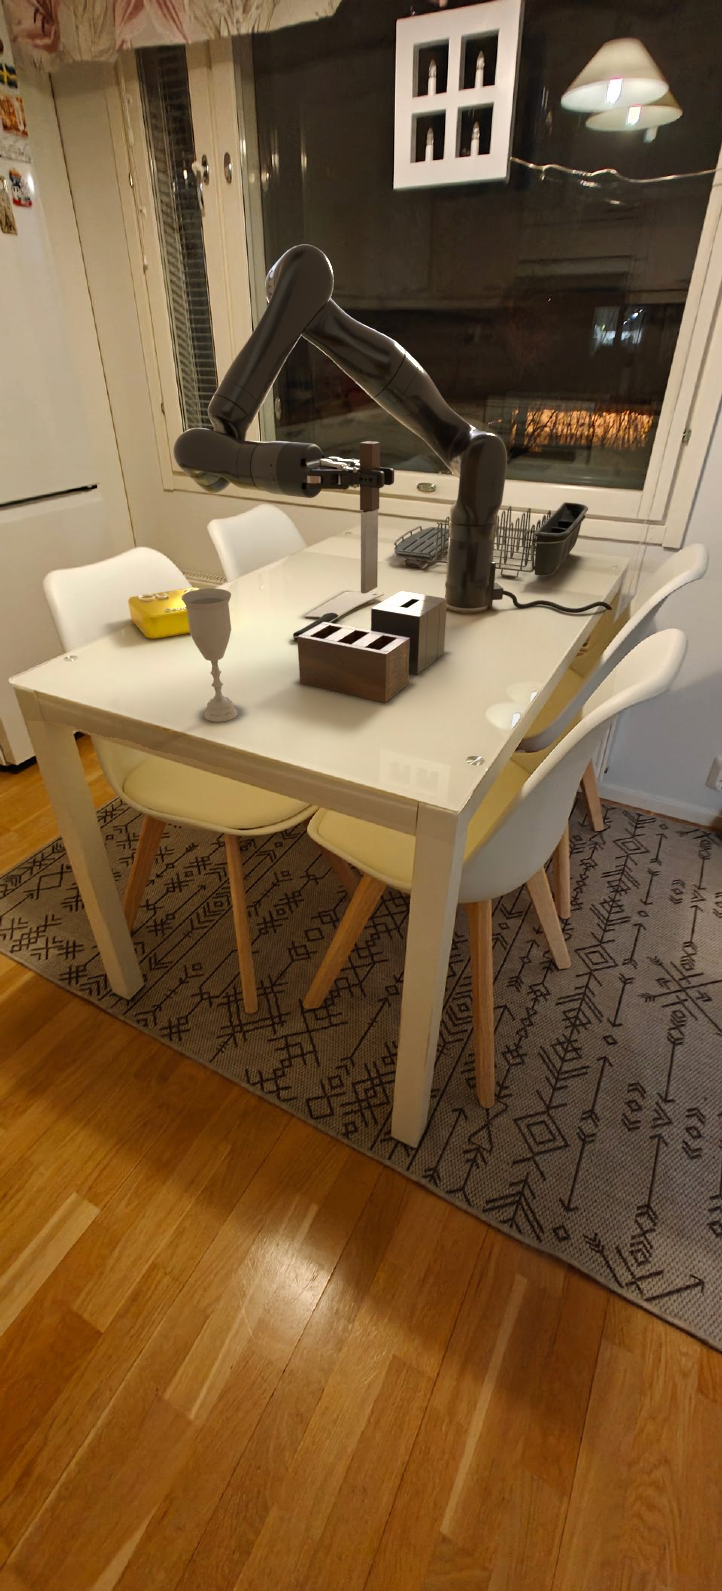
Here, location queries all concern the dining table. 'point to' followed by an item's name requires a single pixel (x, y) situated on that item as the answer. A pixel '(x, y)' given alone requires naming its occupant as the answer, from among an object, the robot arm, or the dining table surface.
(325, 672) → the knife rack
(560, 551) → the dish rack
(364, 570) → the chef knife
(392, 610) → the knife block
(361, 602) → the kitchen cleaver
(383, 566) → the dining table surface
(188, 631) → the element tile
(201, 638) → the chalice
